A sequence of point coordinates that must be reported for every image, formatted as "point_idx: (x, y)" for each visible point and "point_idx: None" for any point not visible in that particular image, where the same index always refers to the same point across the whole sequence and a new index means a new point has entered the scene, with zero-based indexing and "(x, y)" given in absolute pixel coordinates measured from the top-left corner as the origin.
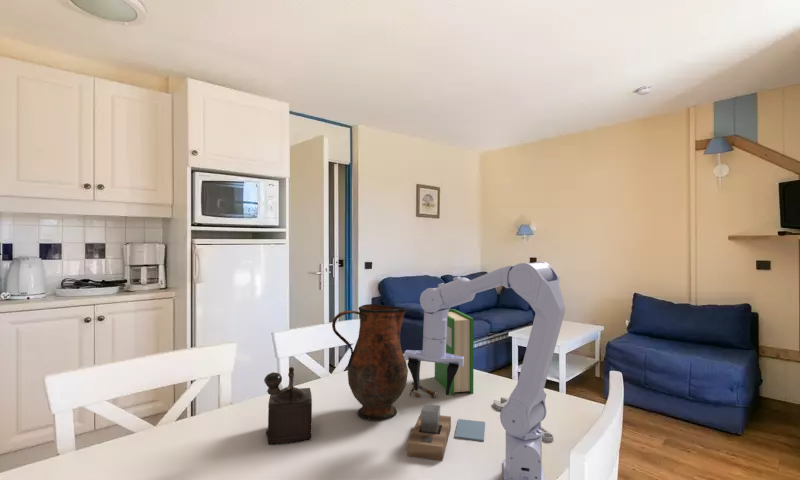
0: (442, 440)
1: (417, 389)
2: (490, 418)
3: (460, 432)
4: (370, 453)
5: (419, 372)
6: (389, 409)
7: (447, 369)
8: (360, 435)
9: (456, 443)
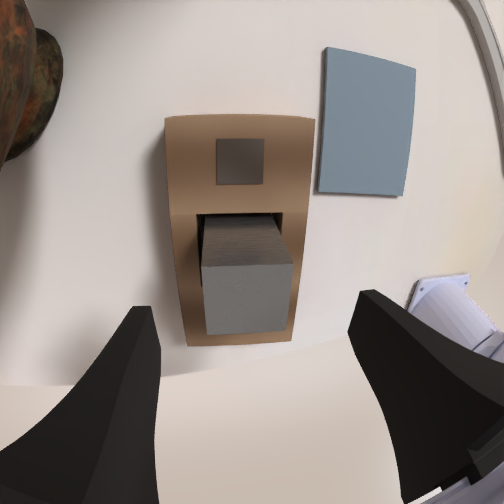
0: (289, 313)
1: (160, 359)
2: (425, 34)
3: (338, 159)
4: (101, 327)
5: (120, 392)
6: (31, 96)
7: (404, 498)
8: (31, 256)
9: (322, 223)
